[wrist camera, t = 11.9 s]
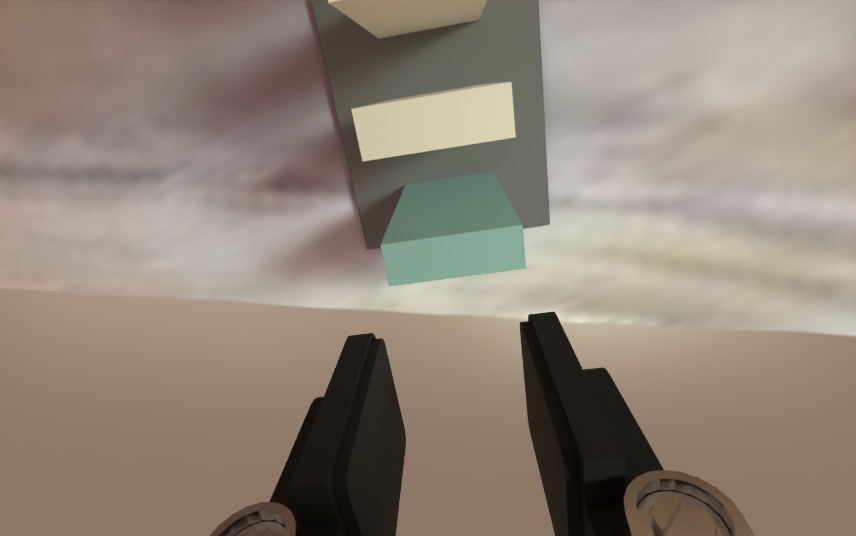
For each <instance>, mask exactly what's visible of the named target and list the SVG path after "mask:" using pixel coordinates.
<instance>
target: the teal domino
mask: <svg viewBox="0 0 856 536" xmlns="http://www.w3.org/2000/svg"><path fill="white" fill-rule="evenodd" d="M381 250H382V254H383V259H384V264H385V268H386V273H387V278H388V282H389V286H395V285H403V284H410V283H418V282H426V281H433V280H441V279H449V278H456V277H464V276H472V275H479V274H487V273H494V272H502V271H510V270H517V269H525V268H526V261H525V248H524V236H523V225H522V223H521V221H520V219H519V217H518V216H517V214H516V212H515V210H514V208H513V207H512V205H511V203H510V201H509V199H508V198H507V196H506V194H505V192H504V190H503V189H502V187H501V185H500V183H499V181H498V180H497V178H496V176H495V174H494V172H488V173H481V174H475V175H468V176H462V177H455V178H449V179H442V180H436V181H429V182H423V183H416V184H410V185H405V187H404V189H403V192H402V194H401V197H400V199H399V201H398V204H397V206H396V209H395V211H394V213H393V216H392V218H391V221H390V223H389V225H388V228H387V230H386V233H385V235H384V238H383V240H382V242H381Z"/></svg>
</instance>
